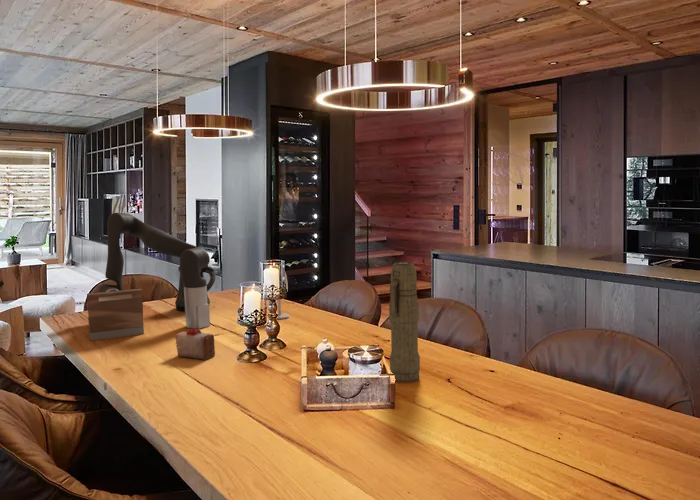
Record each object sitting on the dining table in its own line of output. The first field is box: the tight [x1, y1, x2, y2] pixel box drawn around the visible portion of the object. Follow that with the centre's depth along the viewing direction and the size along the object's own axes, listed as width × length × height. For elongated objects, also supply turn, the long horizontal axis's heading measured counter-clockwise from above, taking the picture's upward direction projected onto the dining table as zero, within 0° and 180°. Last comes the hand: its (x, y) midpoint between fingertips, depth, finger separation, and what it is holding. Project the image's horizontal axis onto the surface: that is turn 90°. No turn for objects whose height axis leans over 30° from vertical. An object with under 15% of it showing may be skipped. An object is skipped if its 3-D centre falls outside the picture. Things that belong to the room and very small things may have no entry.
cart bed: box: [87, 317, 145, 341], centre depth 240 cm, size 18×20×6 cm
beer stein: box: [174, 264, 216, 313], centre depth 283 cm, size 16×19×25 cm
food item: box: [175, 328, 216, 361], centre depth 203 cm, size 14×8×10 cm, turn 64°
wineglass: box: [276, 272, 291, 320], centre depth 259 cm, size 9×9×21 cm
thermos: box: [388, 261, 421, 383], centre depth 173 cm, size 9×12×35 cm
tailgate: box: [86, 288, 144, 333], centre depth 229 cm, size 2×20×16 cm, turn 116°
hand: (115, 305), depth 230 cm, fingers closed
